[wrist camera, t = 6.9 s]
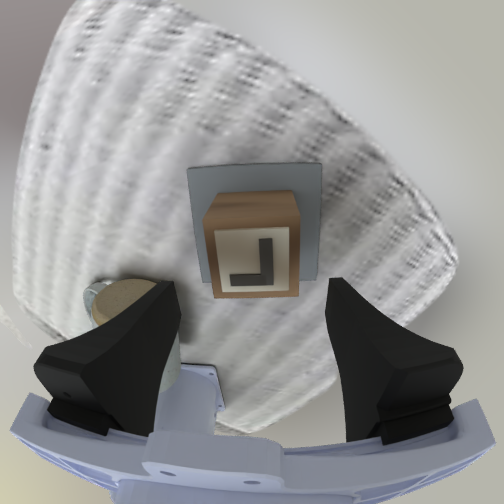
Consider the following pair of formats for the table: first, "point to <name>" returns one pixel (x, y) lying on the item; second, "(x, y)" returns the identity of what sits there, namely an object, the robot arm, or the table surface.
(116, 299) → the ceramic mug
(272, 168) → the slate mat
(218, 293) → the letter cube
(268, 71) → the table surface
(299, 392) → the table surface
